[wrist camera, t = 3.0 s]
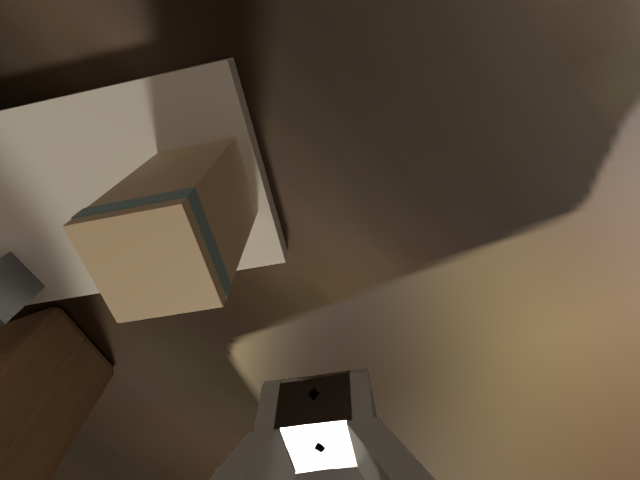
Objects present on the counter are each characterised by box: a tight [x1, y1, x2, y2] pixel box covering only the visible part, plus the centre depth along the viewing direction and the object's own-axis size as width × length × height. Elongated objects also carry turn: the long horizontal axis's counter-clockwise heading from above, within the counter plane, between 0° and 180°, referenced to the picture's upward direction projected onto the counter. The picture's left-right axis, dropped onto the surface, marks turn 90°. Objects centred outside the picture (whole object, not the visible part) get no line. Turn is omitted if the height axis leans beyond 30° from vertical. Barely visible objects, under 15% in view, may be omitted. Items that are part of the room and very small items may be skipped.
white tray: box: [0, 57, 288, 305], centre depth 32 cm, size 16×28×2 cm, turn 102°
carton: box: [62, 137, 258, 323], centre depth 25 cm, size 6×6×12 cm
